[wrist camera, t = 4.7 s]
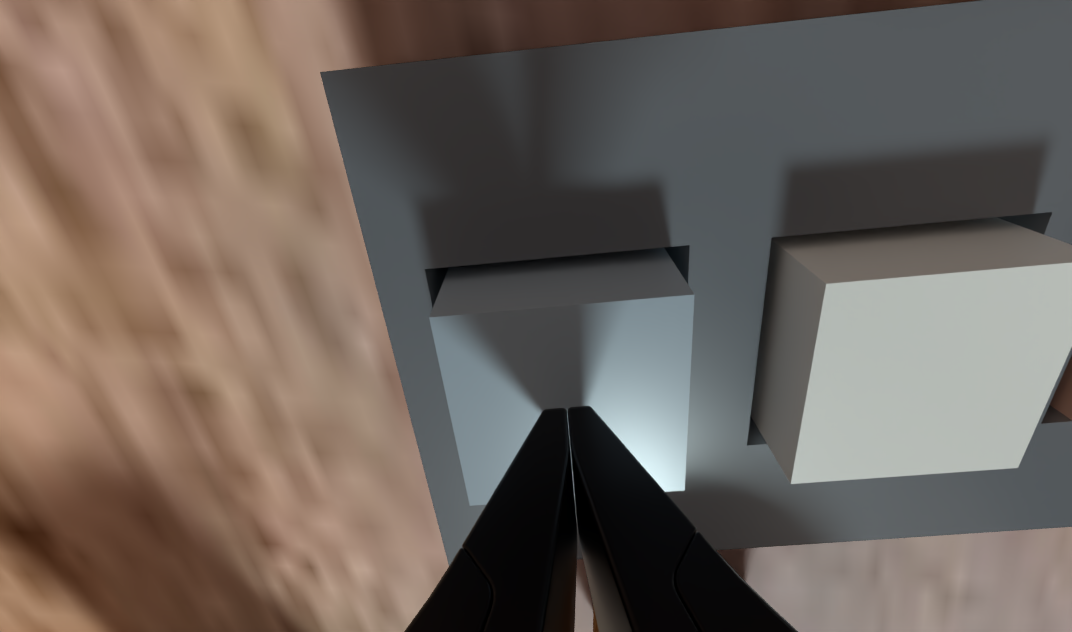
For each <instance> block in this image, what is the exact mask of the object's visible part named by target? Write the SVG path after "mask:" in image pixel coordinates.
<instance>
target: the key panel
mask: <svg viewBox="0 0 1072 632" xmlns="http://www.w3.org/2000/svg"><path fill="white" fill-rule="evenodd" d="M320 74H321V77H322V81H323V85H324V89H325V93H326V97H327V100H328V104H329V108H330V112H331V116H332V120H333V123H334V127H335V131H336V135H337V139H338V142H339V146H340V150H341V154H342V158H343V162H344V165H345V169H346V173H347V177H348V181H349V185H350V188H351V192H352V196H353V200H354V204H355V207H356V211H357V215H358V219H359V223H360V227H361V230H362V234H363V238H364V242H365V246H366V250H367V253H368V257H369V261H370V265H371V269H372V272H373V276H374V280H375V284H376V288H377V292H378V295H379V299H380V303H381V307H382V311H383V315H384V318H385V322H386V326H387V330H388V334H389V337H390V341H391V345H392V349H393V353H394V357H395V360H396V364H397V368H398V372H399V376H400V380H401V383H402V387H403V391H404V395H405V399H406V402H407V406H408V410H409V414H410V418H411V422H412V425H413V429H414V433H415V437H416V441H417V445H418V448H419V452H420V456H421V460H422V464H423V467H424V471H425V475H426V479H427V483H428V487H429V490H430V494H431V498H432V502H433V506H434V510H435V513H436V517H437V521H438V525H439V529H440V532H441V536H442V540H443V544H444V548H445V552H446V555H447V559H448V563H449V566H450V564H451V562H452V561H453V559H454V557H455V556H456V554H457V552H458V551H459V549H460V548H462V544H463V543H464V541H465V539H466V538H467V536H468V534H469V533H470V531H471V529H472V528H473V526H474V524H475V523H476V521H477V519H478V518H479V516H480V514H481V513H482V511H483V509H484V508H485V506H486V505H473V506H470V504H469V500H468V495H467V490H466V486H465V481H464V477H463V472H462V467H461V463H460V458H459V453H458V449H457V444H456V440H455V435H454V430H453V426H452V421H451V417H450V412H449V407H448V403H447V398H446V393H445V389H444V384H443V380H442V375H441V370H440V366H439V361H438V356H437V352H436V347H435V343H434V338H433V333H432V329H431V324H430V319H429V317H430V314H431V311H432V309H433V306H434V304H435V301H436V299H437V296H438V294H439V291H440V289H441V286H442V283H443V281H444V278H445V276H446V273H447V271H448V268H449V267H455V266H466V265H477V264H488V263H499V262H509V261H520V260H531V259H542V258H553V257H564V256H575V255H586V254H597V253H608V252H619V251H630V250H641V249H652V248H663V247H664V248H665V250H666V251H667V253H668V254H669V256H670V258H671V259H672V261H673V262H674V264H675V265H676V267H677V268H678V270H679V271H680V273H681V274H682V276H683V278H684V279H685V281H686V282H687V284H688V285H689V287H690V288H691V290H692V291H693V293H694V314H693V334H692V354H691V374H690V394H689V414H688V435H687V455H686V475H685V490H684V491H670V492H666V494H667V495H668V496H669V497H670V498H671V499H672V500H673V502H674V503H675V504H676V505H677V506H678V507H679V509H680V510H681V511H682V512H683V513H684V514H685V515H686V517H687V518H688V519H689V520H690V521H691V522H692V524H693V525H694V526H695V527H696V528H697V532H700V533H701V534H702V535H703V536H704V537H705V538H706V539H707V541H708V542H709V543H710V544H711V545H712V546H713V548H714V549H715V550H726V549H741V548H756V547H771V546H786V545H802V544H817V543H832V542H847V541H862V540H877V539H892V538H907V537H922V536H938V535H953V534H968V533H983V532H998V531H1013V530H1028V529H1043V528H1058V527H1072V420H1071V419H1069V418H1068V417H1066V416H1065V415H1064V414H1062V413H1061V412H1059V411H1058V410H1056V409H1055V408H1053V407H1052V406H1051V405H1050V402H1051V400H1052V398H1053V396H1054V394H1055V391H1056V389H1057V387H1058V385H1059V382H1060V380H1061V378H1062V376H1063V373H1064V371H1065V369H1066V367H1067V364H1068V362H1069V360H1070V358H1071V356H1072V347H1071V349H1070V352H1069V354H1068V356H1067V359H1066V361H1065V363H1064V365H1063V368H1062V370H1061V372H1060V374H1059V377H1058V379H1057V381H1056V383H1055V386H1054V388H1053V390H1052V392H1051V395H1050V397H1049V399H1048V401H1047V404H1046V406H1045V408H1044V410H1043V413H1042V415H1041V417H1040V419H1039V422H1038V424H1037V426H1036V428H1035V431H1034V433H1033V435H1032V437H1031V440H1030V442H1029V444H1028V446H1027V449H1026V451H1025V453H1024V455H1023V458H1022V460H1021V462H1020V464H1019V467H1018V468H1010V469H996V470H982V471H968V472H954V473H940V474H926V475H912V476H898V477H884V478H870V479H856V480H841V481H827V482H813V483H799V484H790V482H789V480H788V479H787V477H786V475H785V474H784V472H783V470H782V468H781V467H780V465H779V463H778V462H777V460H776V458H775V457H774V455H773V453H772V451H771V450H770V448H769V446H768V445H767V443H766V441H765V439H764V438H763V436H762V434H761V433H760V431H759V429H758V428H757V426H756V424H755V422H754V421H753V419H752V417H751V416H750V415H751V407H752V398H753V390H754V381H755V373H756V365H757V356H758V348H759V339H760V331H761V323H762V314H763V306H764V297H765V289H766V281H767V272H768V264H769V255H770V247H771V239H772V238H773V237H784V236H795V235H806V234H817V233H828V232H839V231H849V230H860V229H871V228H882V227H893V226H904V225H915V224H926V223H937V222H948V221H959V220H970V219H981V218H992V217H997V218H1000V219H1002V220H1005V221H1008V222H1011V223H1013V224H1016V225H1019V226H1021V227H1024V228H1027V229H1030V230H1032V231H1035V232H1038V233H1041V234H1043V235H1046V236H1049V237H1052V238H1054V239H1057V240H1060V241H1062V242H1065V243H1068V244H1071V245H1072V0H979V1H970V2H961V3H952V4H942V5H933V6H924V7H915V8H906V9H896V10H887V11H878V12H869V13H860V14H850V15H841V16H832V17H823V18H813V19H804V20H795V21H786V22H777V23H767V24H758V25H749V26H740V27H731V28H721V29H712V30H703V31H694V32H684V33H675V34H666V35H657V36H648V37H638V38H629V39H620V40H611V41H602V42H592V43H583V44H574V45H565V46H555V47H546V48H537V49H528V50H519V51H509V52H500V53H491V54H482V55H473V56H463V57H454V58H445V59H436V60H426V61H417V62H408V63H399V64H390V65H381V66H372V67H363V68H354V69H345V70H336V71H327V72H320ZM575 509H576V505H575ZM576 520H577V517H576ZM577 559H583V555H582V551H581V546H580V540H579V534H578V526H577Z"/></svg>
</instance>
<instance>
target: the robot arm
mask: <svg viewBox="0 0 1072 632" xmlns="http://www.w3.org/2000/svg"><path fill="white" fill-rule="evenodd" d="M567 414H568V417H567ZM568 426H569V429H568ZM569 437H570V440H569ZM570 449H571V451H570ZM571 460H572V463H571ZM572 471H573V474H572ZM573 483H574V486H573ZM574 494H575V497H574ZM575 505H576V509H575ZM576 517H577V520H576ZM577 526H578V534H579V540H580V546H581V551H582V555H583V560H584V564H585V569H586V574H587V578H588V583H589V588H590V592H591V597H592V601H593V606H594V611H595V615H596V620H597V625H598V629H599V632H798V631H797V630H796V629H794V628H793V627H792V626H791V625H790V624H789V623H788V622H787V621H786V620H785V619H784V618H783V617H782V616H780V615H779V614H778V613H777V612H776V611H775V610H774V609H773V608H772V607H771V606H770V605H769V604H768V603H767V602H766V601H765V600H764V599H763V598H762V597H760V596H759V595H758V594H757V593H756V592H755V591H754V590H753V589H752V588H751V587H750V586H749V585H748V584H747V583H746V582H745V581H744V580H743V579H742V578H741V577H740V576H739V575H738V574H737V573H736V572H735V571H734V569H733V568H732V567H731V566H730V565H729V564H728V563H727V562H726V561H725V560H724V559H723V558H722V556H721V555H720V554H719V553H718V552H717V551H716V550H715V549H714V548H713V546H712V545H711V544H710V543H709V542H708V541H707V539H706V538H705V537H704V536H703V535H702V534H701V533H700V532H697V528H696V527H695V526H694V525H693V524H692V522H691V521H690V520H689V519H688V518H687V517H686V515H685V514H684V513H683V512H682V511H681V510H680V509H679V507H678V506H677V505H676V504H675V503H674V502H673V500H672V499H671V498H670V497H669V496H668V495H667V494H666V492H665V491H664V490H663V489H662V488H661V487H660V486H659V484H658V483H657V482H656V481H655V480H654V479H653V477H652V476H651V475H650V474H649V473H648V472H647V471H646V469H645V468H644V467H643V466H642V465H641V464H640V462H639V461H638V460H637V459H636V458H635V457H634V456H633V454H632V453H631V452H630V451H629V450H628V449H627V447H626V446H625V445H624V444H623V443H622V442H621V441H620V439H619V438H618V437H617V436H616V435H615V434H614V432H613V431H612V430H611V429H610V428H609V427H608V426H607V424H606V423H605V422H604V421H603V420H602V419H601V417H600V416H599V415H598V414H597V413H596V412H595V411H594V409H593V408H592V407H590V406H577V407H570V408H568V410H566V409H565V408H552V409H545V410H543V411H542V413H541V414H540V416H539V418H538V419H537V421H536V423H535V424H534V426H533V428H532V429H531V431H530V433H529V434H528V436H527V438H526V439H525V441H524V443H523V444H522V446H521V448H520V449H519V451H518V453H517V454H516V456H515V458H514V459H513V461H512V463H511V464H510V466H509V468H508V469H507V471H506V473H505V474H504V476H503V478H502V479H501V481H500V483H499V484H498V486H497V488H496V489H495V491H494V493H493V494H492V496H491V498H490V499H489V501H488V503H487V504H486V506H485V508H484V509H483V511H482V513H481V514H480V516H479V518H478V519H477V521H476V523H475V524H474V526H473V528H472V529H471V531H470V533H469V534H468V536H467V538H466V539H465V541H464V543H463V544H462V548H460V549H459V551H458V552H457V554H456V556H455V557H454V559H453V561H452V562H451V564H450V566H449V567H448V569H447V571H446V572H445V574H444V575H443V577H442V578H441V580H440V581H439V583H438V585H437V586H436V588H435V589H434V591H433V592H432V594H431V595H430V597H429V598H428V600H427V601H426V603H425V604H424V605H423V607H422V608H421V609H420V611H419V612H418V614H417V615H416V616H415V618H414V619H413V620H412V622H411V623H410V625H409V626H408V627H407V629H406V630H405V631H404V632H574V624H575V597H576V571H577Z"/></svg>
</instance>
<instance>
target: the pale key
mask: <svg viewBox="0 0 1072 632" xmlns="http://www.w3.org/2000/svg"><path fill="white" fill-rule="evenodd" d="M1071 347H1072V245H1071V244H1068V243H1065V242H1062V241H1060V240H1057V239H1054V238H1052V237H1049V236H1046V235H1043V234H1041V233H1038V232H1035V231H1032V230H1030V229H1027V228H1024V227H1021V226H1019V225H1016V224H1013V223H1011V222H1008V221H1005V220H1002V219H1000V218H997V217H992V218H981V219H970V220H959V221H948V222H937V223H926V224H915V225H904V226H893V227H882V228H871V229H860V230H849V231H839V232H828V233H817V234H806V235H795V236H784V237H773V238H772V239H771V247H770V255H769V264H768V272H767V281H766V289H765V297H764V306H763V314H762V323H761V331H760V339H759V348H758V356H757V365H756V373H755V381H754V390H753V398H752V407H751V415H750V416H751V417H752V419H753V421H754V422H755V424H756V426H757V428H758V429H759V431H760V433H761V434H762V436H763V438H764V439H765V441H766V443H767V445H768V446H769V448H770V450H771V451H772V453H773V455H774V457H775V458H776V460H777V462H778V463H779V465H780V467H781V468H782V470H783V472H784V474H785V475H786V477H787V479H788V480H789V482H790V484H799V483H813V482H827V481H841V480H856V479H870V478H884V477H898V476H912V475H926V474H940V473H954V472H968V471H982V470H996V469H1010V468H1018V467H1019V464H1020V462H1021V460H1022V458H1023V455H1024V453H1025V451H1026V449H1027V446H1028V444H1029V442H1030V440H1031V437H1032V435H1033V433H1034V431H1035V428H1036V426H1037V424H1038V422H1039V419H1040V417H1041V415H1042V413H1043V410H1044V408H1045V406H1046V404H1047V401H1048V399H1049V397H1050V395H1051V392H1052V390H1053V388H1054V386H1055V383H1056V381H1057V379H1058V377H1059V374H1060V372H1061V370H1062V368H1063V365H1064V363H1065V361H1066V359H1067V356H1068V354H1069V352H1070V349H1071Z"/></svg>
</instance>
